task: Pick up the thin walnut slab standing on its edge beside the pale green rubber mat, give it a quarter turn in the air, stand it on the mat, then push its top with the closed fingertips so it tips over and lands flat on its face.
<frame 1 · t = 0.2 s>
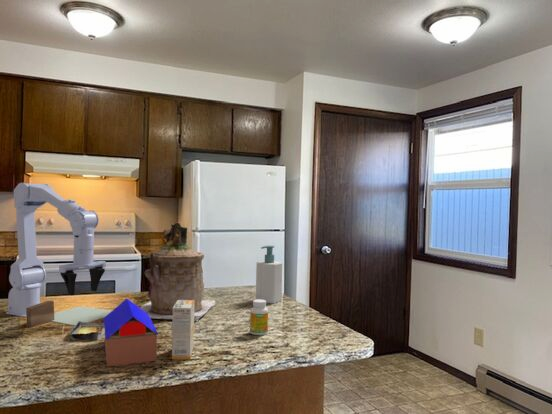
hand: (82, 292, 134), 10 cm above the countertop, tool pointing down, fingers open, 7 cm apart
house: (128, 352, 112), on the countertop
soap bottle: (268, 301, 172), on the countertop
walnut slab: (41, 323, 133), on the countertop, touching mat
supplement bottle: (258, 333, 130), on the countertop
mat: (79, 316, 143), on the countertop
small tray: (89, 335, 126), on the countertop
cookie jar: (175, 312, 152), on the countertop
supplement box: (182, 354, 111), on the countertop
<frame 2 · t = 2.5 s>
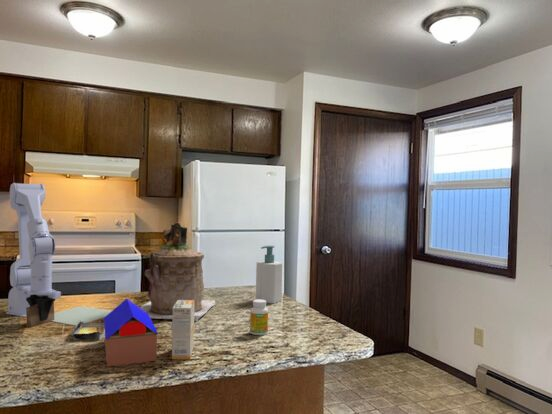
hand: (40, 319, 133), 2 cm above the countertop, tool pointing down, fingers closed on walnut slab, 2 cm apart
walnut slab: (41, 323, 133), on the countertop, touching gripper, mat
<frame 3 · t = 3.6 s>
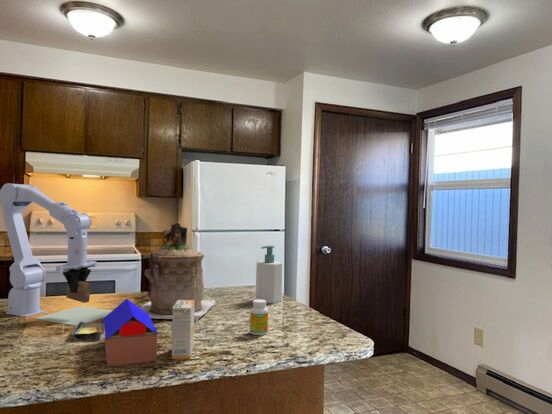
hand: (76, 291, 141), 9 cm above the countertop, tool pointing down, fingers closed on walnut slab
walnut slab: (77, 299, 141), point 6 cm above the countertop, tilted 6°, touching gripper
everything else where it was.
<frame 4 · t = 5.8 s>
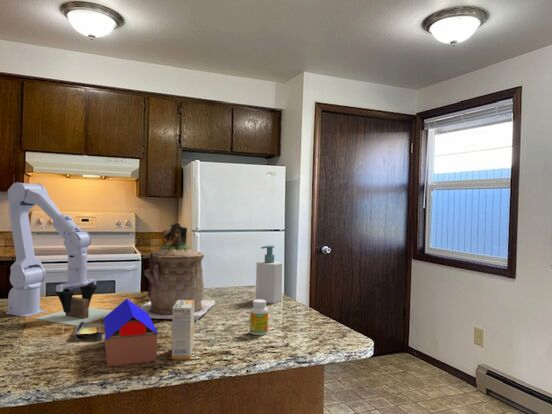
hand: (76, 309, 141), 3 cm above the countertop, tool pointing down, fingers open, 7 cm apart
walnut slab: (76, 316, 141), resting on mat
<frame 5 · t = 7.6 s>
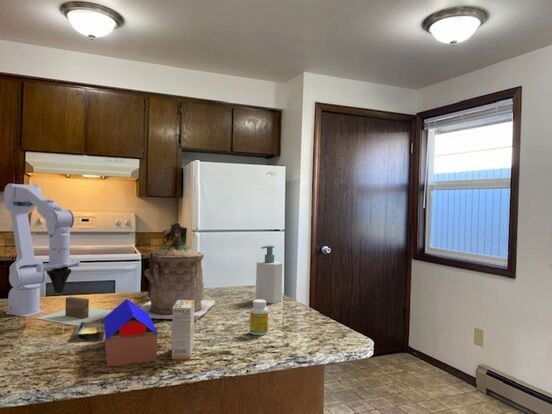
hand: (58, 292, 134), 10 cm above the countertop, tool pointing down, fingers closed
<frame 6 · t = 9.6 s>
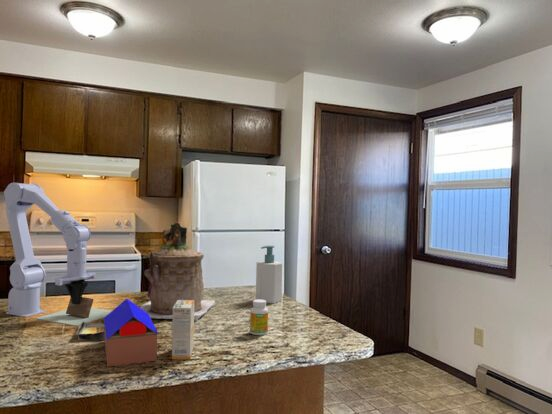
hand: (76, 303, 141), 5 cm above the countertop, tool pointing down, fingers closed
walnut slab: (77, 315, 141), point 1 cm above the countertop, tilted 20°, touching mat
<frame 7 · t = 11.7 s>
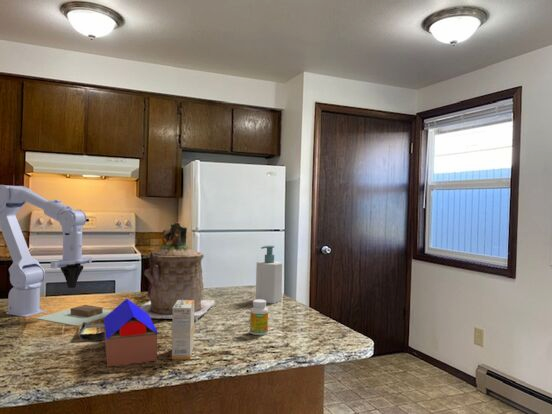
hand: (71, 287, 142), 10 cm above the countertop, tool pointing down, fingers closed
walnut slab: (79, 312, 142), point 1 cm above the countertop, tilted 90°, touching mat
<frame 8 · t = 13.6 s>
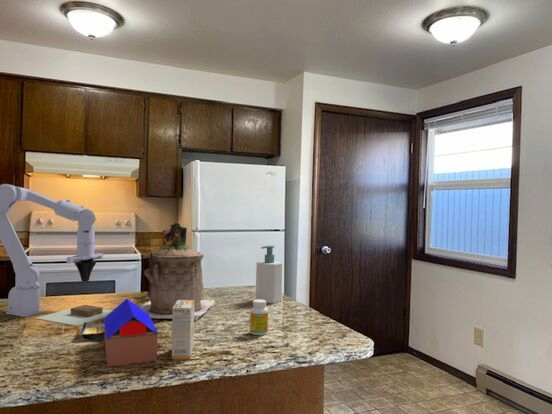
hand: (85, 281, 153), 10 cm above the countertop, tool pointing down, fingers closed
at the end: walnut slab tilted 90°; walnut slab inside the target area (1.5 cm from its centre), point 1.5 cm above the countertop; the gripper is holding nothing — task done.
